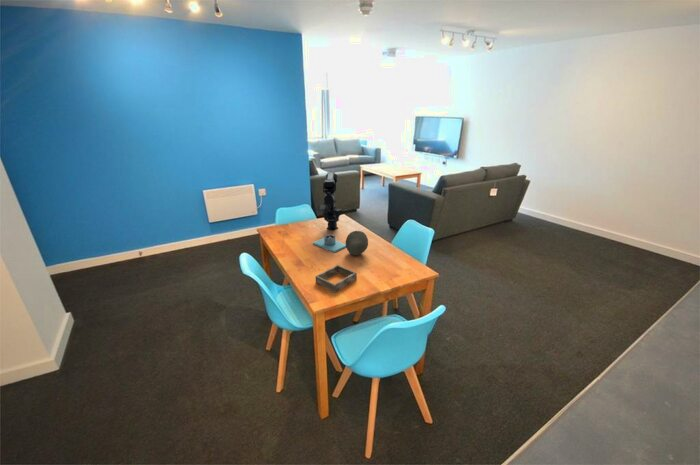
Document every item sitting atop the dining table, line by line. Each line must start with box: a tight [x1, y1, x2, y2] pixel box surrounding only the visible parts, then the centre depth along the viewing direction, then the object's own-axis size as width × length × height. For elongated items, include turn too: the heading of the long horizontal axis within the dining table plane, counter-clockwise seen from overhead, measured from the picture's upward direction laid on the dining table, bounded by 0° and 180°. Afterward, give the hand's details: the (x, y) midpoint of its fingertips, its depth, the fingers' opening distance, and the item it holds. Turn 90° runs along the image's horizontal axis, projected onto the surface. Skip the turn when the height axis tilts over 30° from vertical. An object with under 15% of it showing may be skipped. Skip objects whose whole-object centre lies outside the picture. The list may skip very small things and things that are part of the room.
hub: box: [323, 234, 336, 246], centre depth 195 cm, size 7×7×5 cm
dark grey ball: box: [345, 230, 369, 256], centre depth 181 cm, size 14×14×15 cm
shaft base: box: [312, 237, 347, 253], centre depth 196 cm, size 12×20×5 cm, turn 49°
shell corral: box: [315, 264, 358, 293], centre depth 154 cm, size 16×14×4 cm
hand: (330, 221), depth 203 cm, fingers open, 9 cm apart
